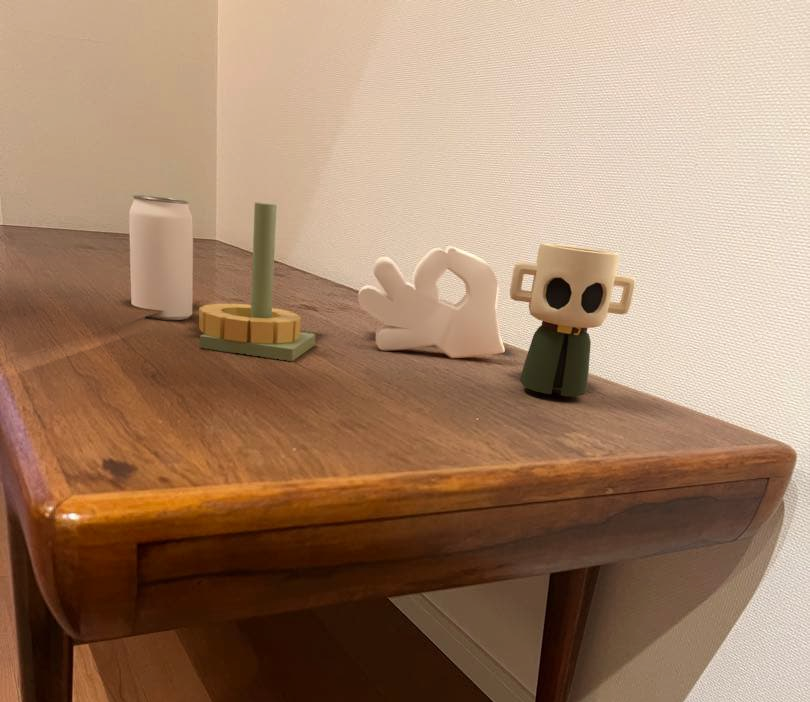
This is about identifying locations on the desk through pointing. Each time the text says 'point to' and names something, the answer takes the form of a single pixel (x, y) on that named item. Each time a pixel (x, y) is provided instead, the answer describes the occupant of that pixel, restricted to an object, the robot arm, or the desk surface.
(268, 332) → the ring
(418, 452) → the desk surface
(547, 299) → the character mug
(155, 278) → the can
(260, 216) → the post
